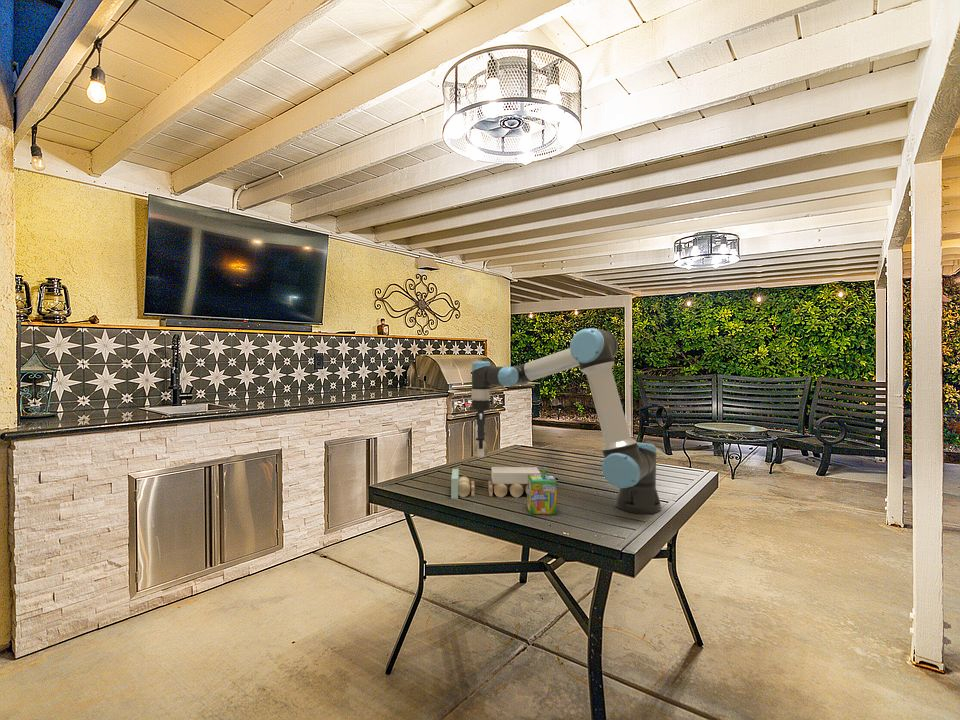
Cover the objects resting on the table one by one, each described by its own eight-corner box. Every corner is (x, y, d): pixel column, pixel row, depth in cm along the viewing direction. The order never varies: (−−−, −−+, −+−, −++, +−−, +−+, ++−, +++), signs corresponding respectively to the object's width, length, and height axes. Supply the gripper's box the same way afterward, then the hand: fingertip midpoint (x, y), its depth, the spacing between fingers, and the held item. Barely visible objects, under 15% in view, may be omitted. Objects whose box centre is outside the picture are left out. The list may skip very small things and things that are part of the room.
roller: (487, 457, 192) (487, 444, 192) (474, 457, 192) (474, 444, 192) (486, 452, 203) (487, 440, 203) (474, 451, 203) (475, 439, 203)
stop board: (457, 498, 181) (458, 478, 181) (451, 498, 181) (451, 478, 181) (458, 487, 197) (458, 468, 197) (452, 487, 197) (452, 468, 197)
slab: (540, 483, 185) (540, 473, 185) (492, 483, 184) (492, 472, 184) (536, 477, 195) (536, 467, 195) (491, 476, 194) (491, 466, 194)
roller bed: (539, 497, 184) (539, 484, 184) (456, 496, 183) (456, 483, 183) (534, 489, 195) (535, 476, 195) (457, 488, 194) (457, 476, 194)
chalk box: (526, 506, 173) (527, 464, 173) (552, 506, 174) (553, 464, 173) (529, 515, 164) (530, 470, 164) (557, 515, 164) (557, 471, 164)
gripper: (491, 402, 186) (490, 460, 186) (489, 397, 209) (489, 448, 209) (471, 402, 186) (470, 459, 186) (471, 397, 209) (471, 448, 209)
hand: (480, 453), depth 198 cm, fingers closed on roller, 11 cm apart
